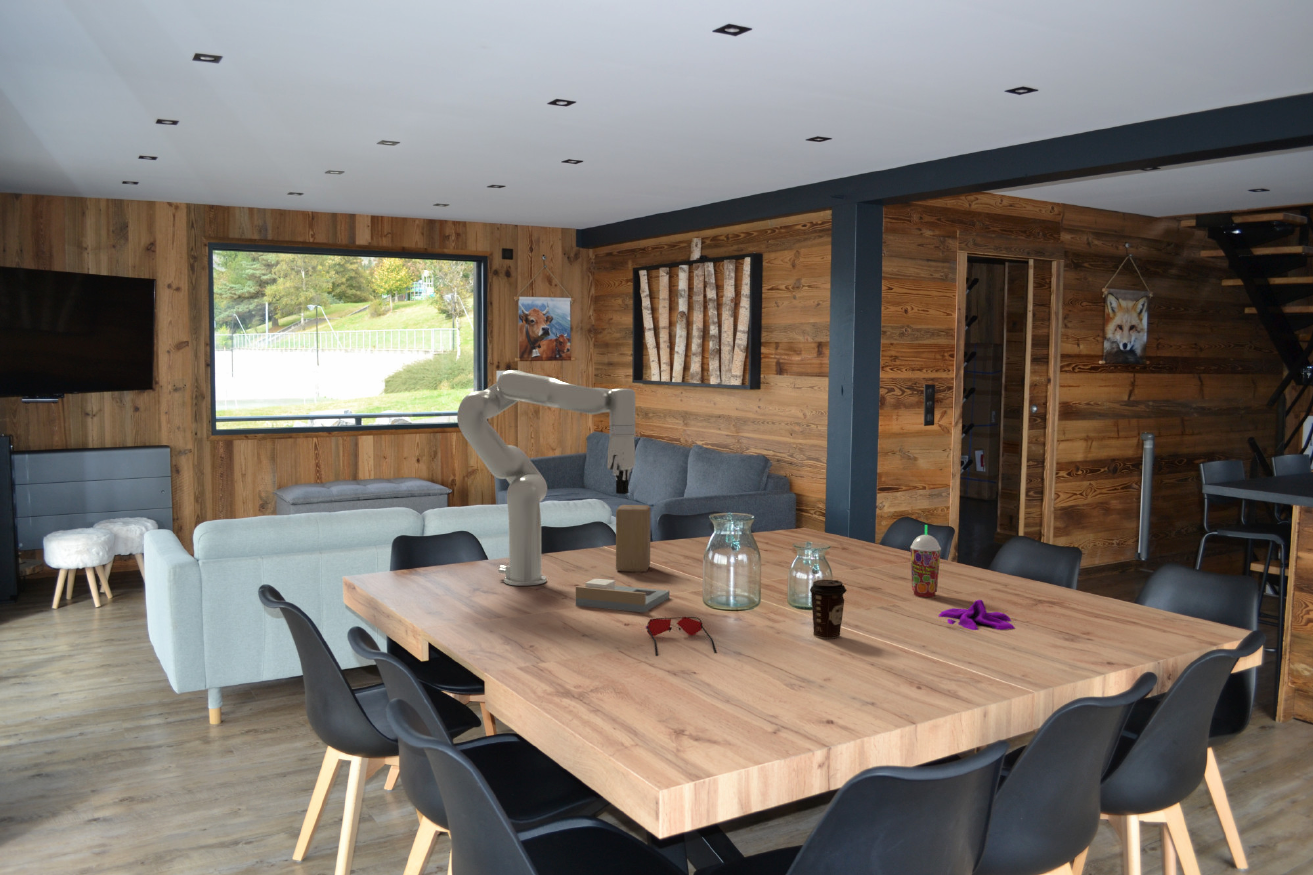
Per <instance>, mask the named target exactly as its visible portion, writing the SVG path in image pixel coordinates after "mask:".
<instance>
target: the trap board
mask: <svg viewBox="0 0 1313 875" xmlns="http://www.w3.org/2000/svg"><path fill="white" fill-rule="evenodd" d="M668 599H670V590H664V589H655V588H643V587H636V586H634V587H633V586H632V587H631V586H623V585H615V590H611V589H601V588H591V587H585V586H579V585H577V586H575V606H577V607H578V606H579V607H586V608H587V607H588V608H589V607H590V608H599V609H608V610H614V611H615V610H616V611H617V610H618V611H626V612H634V613H635V612H636V613H647V612H648V611H649V610H651V609H653V608H654V607H656V606H658V605H660V604H661V603H663V602H665V601H667V600H668Z"/></svg>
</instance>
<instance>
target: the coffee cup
mask: <svg viewBox="0 0 1313 875" xmlns="http://www.w3.org/2000/svg"><path fill="white" fill-rule="evenodd" d="M809 591H810V593H811V607H812V609H811V610H812V623H813V624H812V626H813V634H812V635H813V637H816V638H819V639H828V640H829V639H836V638H840V636H841V628H842V623H843V614H844V606H845V598H844V594H846V592H847V589H846V587H845V585H843V582H842V581H840V580H838V579H834V580H833V579H818V580H815V581H813V584H812V586H811V587H810V589H809Z"/></svg>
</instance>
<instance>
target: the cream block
mask: <svg viewBox="0 0 1313 875" xmlns="http://www.w3.org/2000/svg"><path fill="white" fill-rule="evenodd" d="M584 584H585V586H584V587H591V588H601V589H611V590H615V586H616V580H615V579H605V578H603V579H602V578H593V579H591V580H589V581H586V582H585V583H584Z"/></svg>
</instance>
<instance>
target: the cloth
mask: <svg viewBox="0 0 1313 875" xmlns="http://www.w3.org/2000/svg"><path fill="white" fill-rule="evenodd" d="M938 617H940V618H948V619H947V624H949V625H954V624H956V623H957V621H956V620H958V623H957V624H958V626H961V627H963V628H965V629H968V630H971V631H979V628H978V626H979V625H980V626H984V627H988V628H993V629H994V630H998V631H1002V630H1013V629H1016V627H1015V626H1014V625H1013V624H1012V623H1011V622H1012V619H1011V617H1010V616H1009V615H1007V614H1006V613H1003V612H999V611H993V612H987V610H986V606H985V603H984V601H983V600H982V599H976V600H975V601H974V602H973V603H972V605H970V607H969V608H968V609H967V608H966V609H965V608H957V607H956V608H948V609H946V610H942V611H941V612H940V613H939V614H938ZM977 625H978V626H977Z"/></svg>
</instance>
